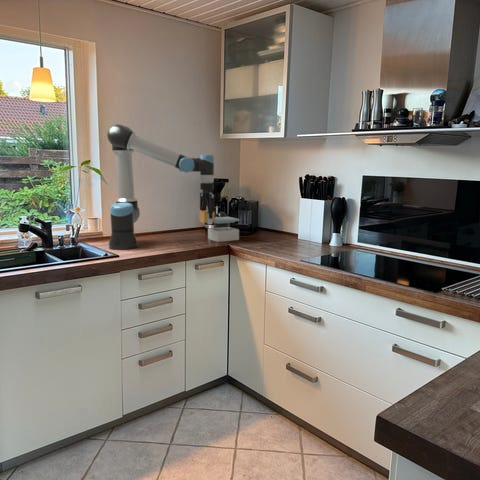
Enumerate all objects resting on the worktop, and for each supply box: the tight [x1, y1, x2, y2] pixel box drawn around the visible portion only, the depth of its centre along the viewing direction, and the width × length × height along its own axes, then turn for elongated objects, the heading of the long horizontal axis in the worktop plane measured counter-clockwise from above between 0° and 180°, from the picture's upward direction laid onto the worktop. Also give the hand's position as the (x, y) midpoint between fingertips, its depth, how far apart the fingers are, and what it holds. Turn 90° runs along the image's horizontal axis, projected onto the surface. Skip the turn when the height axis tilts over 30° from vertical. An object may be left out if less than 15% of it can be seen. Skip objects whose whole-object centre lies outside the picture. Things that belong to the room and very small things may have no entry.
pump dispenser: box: [213, 211, 231, 228], centre depth 273 cm, size 10×10×15 cm
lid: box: [198, 209, 240, 224], centre depth 253 cm, size 21×13×7 cm, turn 122°
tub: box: [207, 227, 240, 243], centre depth 256 cm, size 14×12×7 cm
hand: (207, 223), depth 250 cm, fingers closed on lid, 6 cm apart
